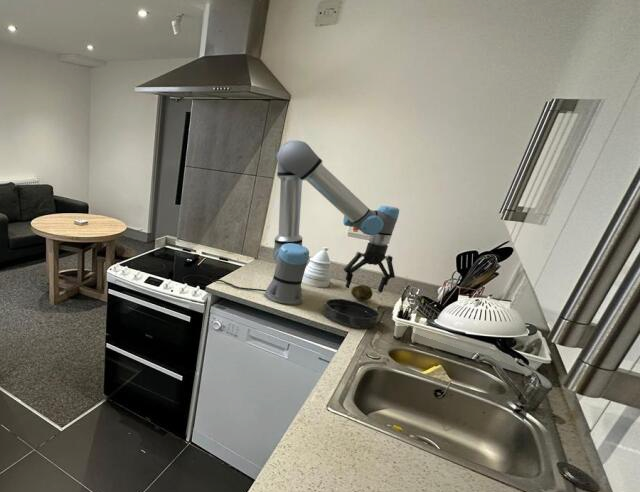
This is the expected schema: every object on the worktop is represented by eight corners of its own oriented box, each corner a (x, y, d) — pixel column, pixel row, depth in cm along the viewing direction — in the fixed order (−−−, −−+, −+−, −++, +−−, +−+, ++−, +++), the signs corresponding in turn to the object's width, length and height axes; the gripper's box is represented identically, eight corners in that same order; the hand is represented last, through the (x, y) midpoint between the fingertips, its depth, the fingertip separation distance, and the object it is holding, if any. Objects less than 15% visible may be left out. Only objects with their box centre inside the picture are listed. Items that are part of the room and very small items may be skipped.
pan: (328, 324, 151) (331, 313, 149) (318, 305, 168) (320, 295, 167) (382, 333, 148) (386, 322, 146) (366, 312, 165) (369, 303, 163)
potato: (369, 298, 182) (375, 282, 179) (368, 307, 171) (374, 290, 168) (349, 293, 185) (354, 278, 182) (347, 302, 175) (353, 285, 172)
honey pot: (306, 276, 205) (315, 243, 198) (332, 284, 197) (342, 249, 190) (296, 281, 196) (306, 246, 189) (322, 289, 188) (333, 253, 181)
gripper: (349, 241, 167) (335, 288, 175) (414, 249, 162) (397, 296, 170) (344, 238, 174) (331, 282, 182) (406, 244, 169) (390, 290, 177)
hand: (363, 289), depth 176 cm, fingers open, 13 cm apart
